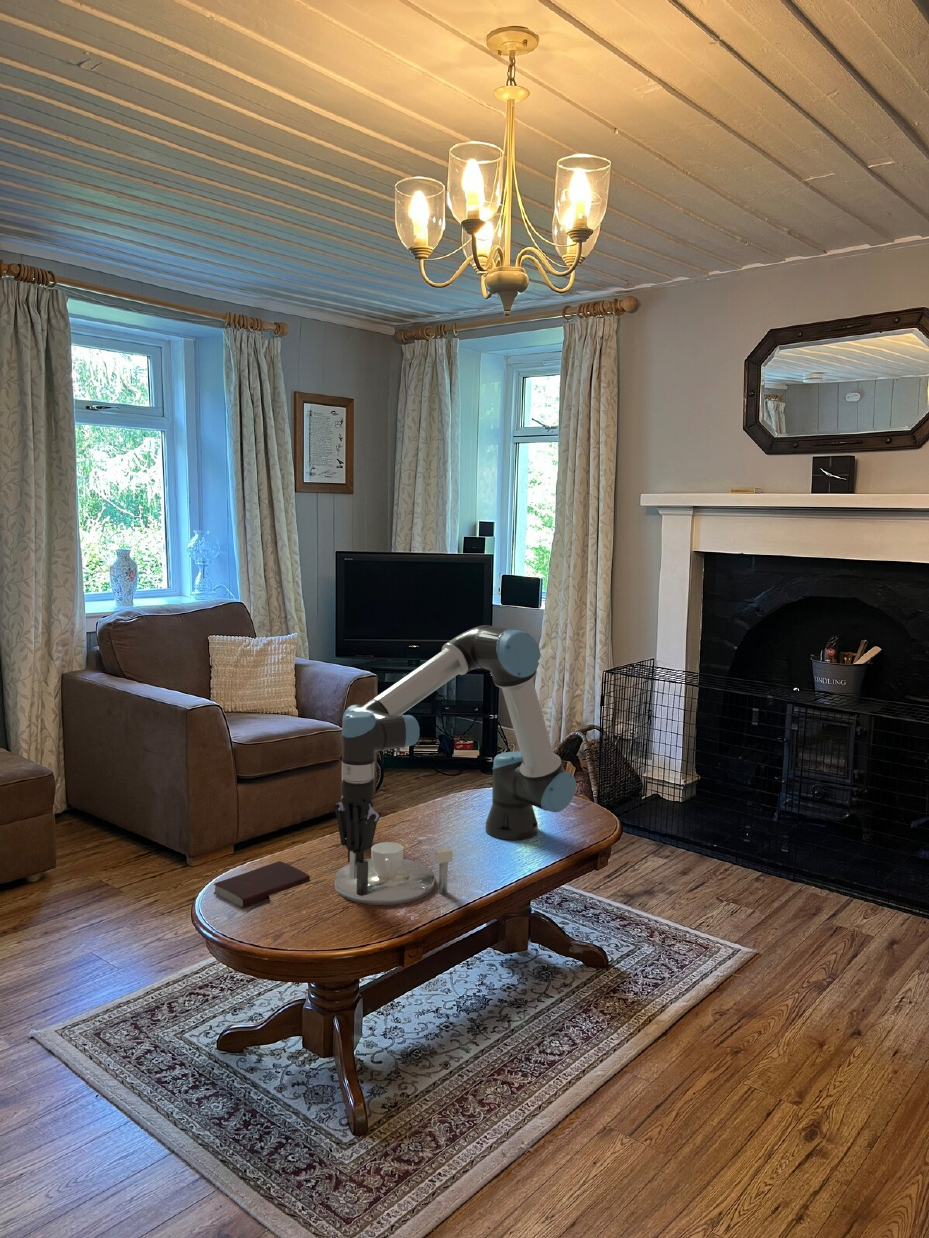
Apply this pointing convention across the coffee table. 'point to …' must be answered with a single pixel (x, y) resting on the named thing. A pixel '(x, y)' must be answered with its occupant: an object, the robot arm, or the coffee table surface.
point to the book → (259, 883)
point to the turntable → (385, 883)
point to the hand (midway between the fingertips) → (355, 876)
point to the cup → (387, 858)
